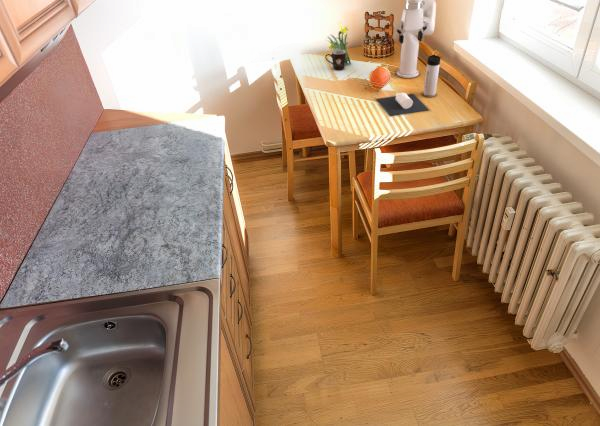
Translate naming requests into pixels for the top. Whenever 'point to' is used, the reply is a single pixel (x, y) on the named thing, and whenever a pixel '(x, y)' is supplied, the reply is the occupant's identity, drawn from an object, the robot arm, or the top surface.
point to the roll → (404, 100)
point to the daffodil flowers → (342, 44)
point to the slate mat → (397, 109)
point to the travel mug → (431, 76)
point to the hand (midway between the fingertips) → (410, 41)
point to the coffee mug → (338, 59)
